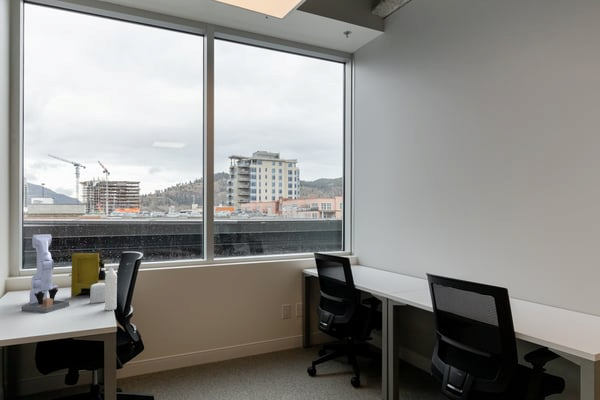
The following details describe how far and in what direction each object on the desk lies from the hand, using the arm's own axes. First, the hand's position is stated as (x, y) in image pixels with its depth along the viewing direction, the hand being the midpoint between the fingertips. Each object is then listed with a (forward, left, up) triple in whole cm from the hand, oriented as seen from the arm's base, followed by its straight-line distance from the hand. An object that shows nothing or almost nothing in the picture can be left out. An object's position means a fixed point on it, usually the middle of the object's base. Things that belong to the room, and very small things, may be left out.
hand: (46, 302), depth 227 cm
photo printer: (+20, +21, -4) cm, 29 cm away
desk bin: (0, 0, -3) cm, 3 cm away
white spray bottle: (+38, +8, -4) cm, 39 cm away
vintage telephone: (-2, +38, -4) cm, 38 cm away
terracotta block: (0, 0, -3) cm, 3 cm away
